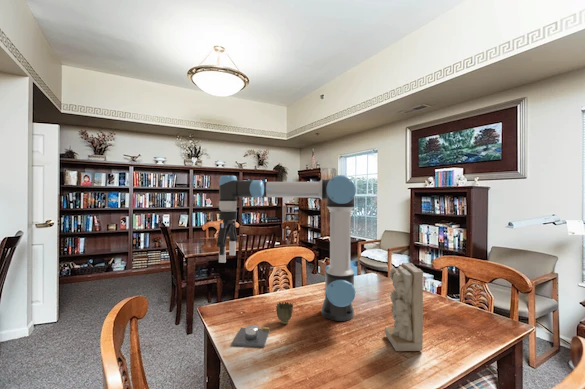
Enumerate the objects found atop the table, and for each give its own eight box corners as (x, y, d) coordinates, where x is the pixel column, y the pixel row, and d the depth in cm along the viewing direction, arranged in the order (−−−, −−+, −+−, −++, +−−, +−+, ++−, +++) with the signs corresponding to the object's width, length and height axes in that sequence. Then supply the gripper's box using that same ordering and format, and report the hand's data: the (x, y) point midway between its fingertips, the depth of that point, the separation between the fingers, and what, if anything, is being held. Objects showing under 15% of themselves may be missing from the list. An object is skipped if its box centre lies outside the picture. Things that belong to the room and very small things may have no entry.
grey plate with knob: (269, 331, 114) (269, 321, 114) (263, 347, 102) (264, 336, 102) (241, 330, 115) (241, 320, 115) (232, 345, 103) (232, 334, 103)
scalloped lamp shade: (290, 328, 117) (291, 309, 117) (274, 326, 119) (274, 307, 119) (294, 320, 125) (294, 302, 125) (278, 318, 126) (278, 301, 126)
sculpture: (384, 335, 112) (384, 260, 112) (410, 335, 112) (410, 261, 112) (395, 353, 99) (395, 269, 99) (423, 353, 99) (424, 269, 99)
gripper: (228, 209, 136) (228, 252, 136) (208, 212, 111) (208, 265, 111) (243, 209, 135) (243, 252, 135) (226, 212, 110) (226, 266, 110)
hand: (227, 258), depth 123 cm, fingers open, 13 cm apart
